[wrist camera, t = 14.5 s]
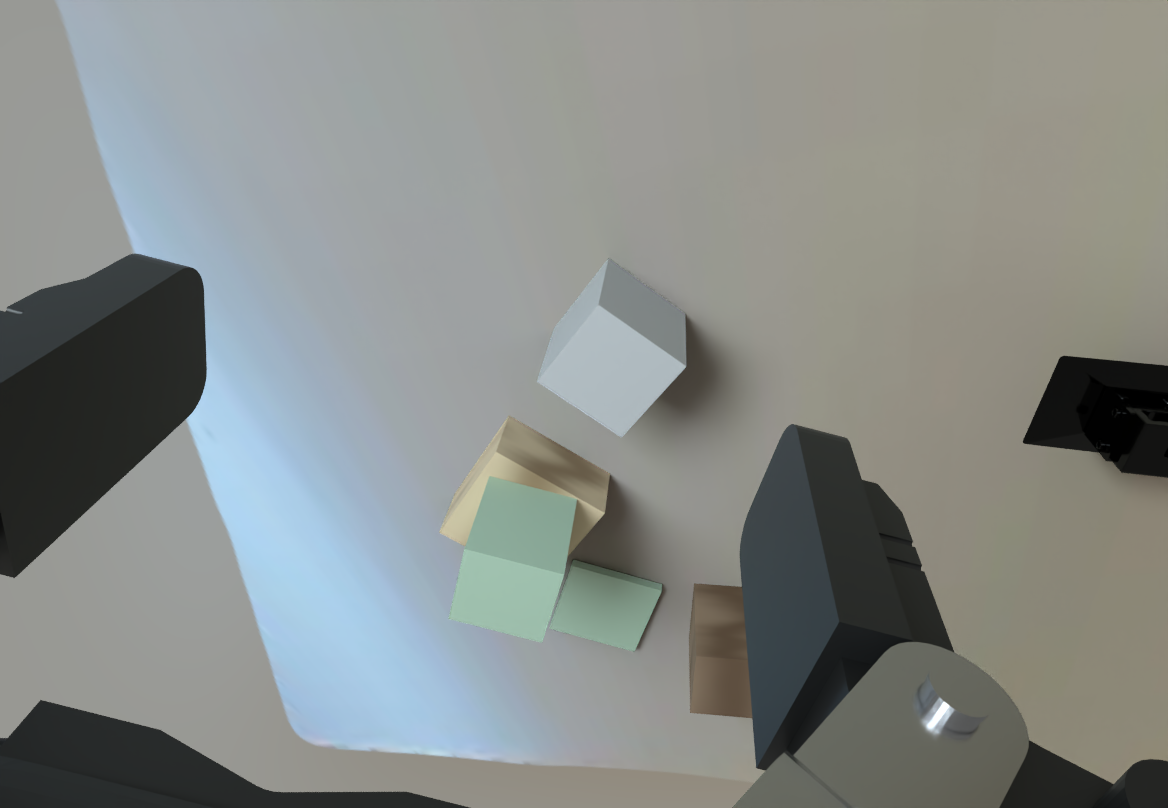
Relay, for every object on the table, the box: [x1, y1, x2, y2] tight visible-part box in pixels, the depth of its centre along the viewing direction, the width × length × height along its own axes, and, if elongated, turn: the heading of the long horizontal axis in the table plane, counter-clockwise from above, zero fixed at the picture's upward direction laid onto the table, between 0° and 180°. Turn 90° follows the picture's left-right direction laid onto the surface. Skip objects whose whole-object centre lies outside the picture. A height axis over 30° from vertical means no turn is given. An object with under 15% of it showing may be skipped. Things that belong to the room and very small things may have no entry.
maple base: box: [439, 416, 610, 557], centre depth 46 cm, size 7×7×4 cm
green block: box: [449, 476, 577, 642], centre depth 42 cm, size 5×5×6 cm
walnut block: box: [689, 584, 752, 718], centre depth 49 cm, size 5×5×6 cm
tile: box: [550, 560, 662, 652], centre depth 52 cm, size 6×6×1 cm
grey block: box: [537, 258, 686, 437], centre depth 39 cm, size 5×5×6 cm
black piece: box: [1023, 356, 1168, 478], centre depth 40 cm, size 12×7×5 cm, turn 86°
